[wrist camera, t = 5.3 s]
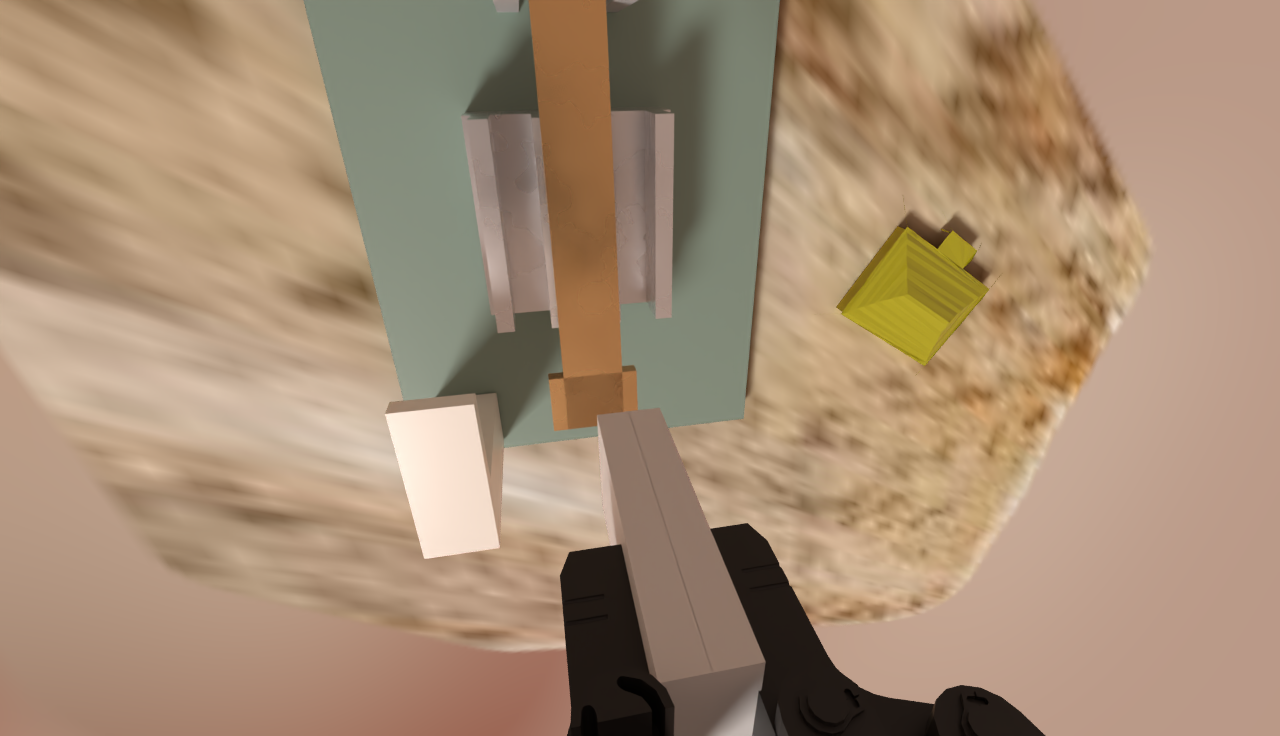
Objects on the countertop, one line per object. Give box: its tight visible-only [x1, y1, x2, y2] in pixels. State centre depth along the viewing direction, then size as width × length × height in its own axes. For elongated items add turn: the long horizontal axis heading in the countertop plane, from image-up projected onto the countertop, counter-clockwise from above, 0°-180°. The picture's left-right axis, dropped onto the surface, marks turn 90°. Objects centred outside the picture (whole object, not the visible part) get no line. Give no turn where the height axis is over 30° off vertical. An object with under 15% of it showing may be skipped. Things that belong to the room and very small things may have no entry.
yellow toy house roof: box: [837, 200, 1000, 376], centre depth 31 cm, size 10×9×3 cm
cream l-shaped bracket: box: [385, 393, 504, 559], centre depth 25 cm, size 7×3×8 cm, turn 1°
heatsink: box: [461, 107, 674, 333], centre depth 23 cm, size 8×8×4 cm
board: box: [304, 0, 780, 448], centre depth 23 cm, size 25×18×7 cm
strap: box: [528, 0, 638, 431], centre depth 21 cm, size 16×4×1 cm, turn 1°
